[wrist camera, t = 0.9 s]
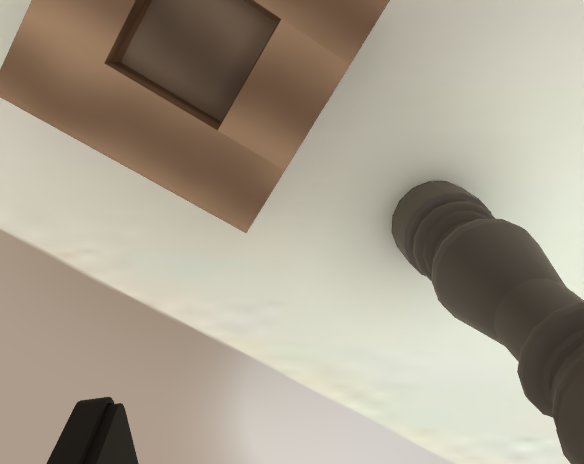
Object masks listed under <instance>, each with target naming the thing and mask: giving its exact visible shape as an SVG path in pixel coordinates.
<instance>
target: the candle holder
mask: <svg viewBox="0 0 584 464" xmlns="http://www.w3.org/2000/svg"><path fill="white" fill-rule="evenodd" d="M392 234H393V236H394V239H395V242H396V244H397V247H398V248H399V249H400V251H401V252H402V253H403V255H404V256H405V257H406V259H407V260H408V261H409V263H410V264H411V265H412V266H413V267H414V268H415V269H416V270H417V271H418V272H419V273H420V274H422V275H424V276H427V277H428V278H429V279H430V280H431V281H432V283H433V286H434V289H435V292H436V295H437V297H438V300H439V301H440V303H441V304H442V305H443V306H444V307H445V308H446V309H447V310H448V311H449V312H450V313H451V314H452V315H453V316H454V317H455V318H457V319H459V320H460V321H462V322H464V323H466V324H467V325H469V326H471V327H473V328H475V329H476V330H478V331H480V332H481V333H483V334H485V335H487V336H488V337H490V338H492V339H494V340H495V341H497V342H499V343H500V344H502V345H504V346H505V347H506V348H507V349H508V350H509V351H510V352H511V354H512V355H513V356H514V357H515V358H516V359H517V361H518V362H519V364H518V371H517V372H518V375H519V378H520V382H521V385H522V388H523V391H524V394H525V396H526V397H527V398H528V400H529V401H530V402H531V403H532V404H533V405H535V406H536V407H537V408H538V409H539V410H540V411H541V412H542V413H543V414H544V415H547V416H550V417H553V418H554V421H555V425H556V428H557V429H556V431H557V434H558V437H559V441H560V444H561V447H562V451H563V454H564V455H565V457H566V458H567V459H568V461H569V462H570V463H571V464H584V300H583V299H581V298H580V297H578V296H577V295H576V294H574V293H573V292H572V291H570V290H569V289H568V288H567V287H566V286H565V284H564V283H563V281H562V280H561V278H560V277H559V275H558V274H557V272H556V271H555V269H554V268H553V266H552V265H551V263H550V261H549V260H548V258H547V257H546V255H545V254H544V252H543V250H542V249H541V247H540V246H539V244H538V243H537V242H536V241H535V240H534V239H533V238H532V237H531V235H530V234H529V233H528V232H527V231H526V230H525V229H523V228H522V227H520V226H517V225H515V224H512V223H510V222H508V221H505V220H503V219H495V218H494V217H493V216H492V215H491V212H490V211H489V210H488V208H487V207H486V206H485V205H484V204H483V203H482V202H481V201H480V200H479V199H478V198H476V197H475V196H473V195H472V194H470V193H469V192H467V191H466V190H464V189H463V188H461V187H459V186H456V185H454V184H451V183H449V182H446V181H434V182H427V183H424V184H422V185H420V186H417V187H415V188H413V189H412V190H411V191H410V192H408V193H407V194H406V195H405V196H404V197H403V198H402V199H401V200H400V202H399V204H398V206H397V208H396V210H395V212H394V214H393V221H392Z"/></svg>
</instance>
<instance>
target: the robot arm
mask: <svg viewBox="0 0 584 464" xmlns="http://www.w3.org/2000/svg"><path fill="white" fill-rule="evenodd" d="M47 464H138V460H137V456H136V452H135V448H134V445H133V440H132V436H131V432H130V428H129V424H128V420H127V415H126V412H125V408H124V406H123V404H121V403H119V404H114V401H113V400H112V398H111V397H104V398H97V399H89V400H82V401H79V402H77V404H76V405H75V407H74V409H73V411H72V413H71V415H70V417H69V419H68V421H67V424H66V425H65V427H64V429H63V431H62V433H61V436H60V437H59V440H58V442H57V444H56V446H55V448H54V450H53V452H52V454H51V456H50V458H49V460H48V462H47Z"/></svg>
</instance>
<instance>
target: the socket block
mask: <svg viewBox="0 0 584 464" xmlns="http://www.w3.org/2000/svg"><path fill="white" fill-rule="evenodd" d="M389 1H390V0H32V1H31V3H30V5H29V8H28V10H27V12H26V14H25V16H24V19H23V21H22V23H21V25H20V27H19V30H18V32H17V34H16V36H15V38H14V41H13V43H12V45H11V47H10V50H9V52H8V54H7V56H6V58H5V61H4V63H3V65H2V67H1V69H0V97H1V98H3V99H5V100H6V101H8V102H10V103H12V104H14V105H15V106H17V107H19V108H21V109H23V110H24V111H26V112H28V113H30V114H32V115H34V116H35V117H37V118H39V119H41V120H43V121H44V122H46V123H48V124H50V125H52V126H53V127H55V128H57V129H59V130H61V131H62V132H64V133H66V134H68V135H70V136H71V137H73V138H75V139H77V140H79V141H81V142H82V143H84V144H86V145H88V146H90V147H91V148H93V149H95V150H97V151H99V152H100V153H102V154H104V155H106V156H108V157H109V158H111V159H113V160H115V161H117V162H118V163H120V164H122V165H124V166H126V167H128V168H129V169H131V170H133V171H135V172H137V173H138V174H140V175H142V176H144V177H146V178H147V179H149V180H151V181H153V182H155V183H156V184H158V185H160V186H162V187H164V188H165V189H167V190H169V191H171V192H173V193H175V194H176V195H178V196H180V197H182V198H184V199H185V200H187V201H189V202H191V203H193V204H194V205H196V206H198V207H200V208H202V209H203V210H205V211H207V212H209V213H211V214H212V215H214V216H216V217H218V218H220V219H222V220H223V221H225V222H227V223H229V224H231V225H232V226H234V227H236V228H238V229H240V230H241V231H243V232H245V233H247V231H248V229H249V228H250V226H251V225H252V223H253V221H254V220H255V218H256V216H257V215H258V213H259V212H260V210H261V208H262V207H263V205H264V203H265V202H266V200H267V199H268V197H269V195H270V194H271V192H272V190H273V189H274V187H275V186H276V184H277V182H278V181H279V179H280V178H281V176H282V174H283V173H284V171H285V169H286V168H287V166H288V165H289V163H290V161H291V160H292V158H293V156H294V155H295V153H296V152H297V150H298V148H299V147H300V145H301V143H302V142H303V140H304V139H305V137H306V135H307V134H308V132H309V130H310V129H311V127H312V126H313V124H314V122H315V121H316V119H317V117H318V116H319V114H320V113H321V111H322V109H323V108H324V106H325V104H326V103H327V101H328V100H329V98H330V96H331V95H332V93H333V92H334V90H335V88H336V87H337V85H338V83H339V82H340V80H341V79H342V77H343V75H344V74H345V72H346V70H347V69H348V67H349V66H350V64H351V62H352V61H353V59H354V57H355V56H356V54H357V53H358V51H359V49H360V48H361V46H362V44H363V43H364V41H365V40H366V38H367V36H368V35H369V33H370V31H371V30H372V28H373V27H374V25H375V23H376V22H377V20H378V19H379V17H380V15H381V14H382V12H383V10H384V9H385V7H386V6H387V4H388V2H389Z"/></svg>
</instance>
